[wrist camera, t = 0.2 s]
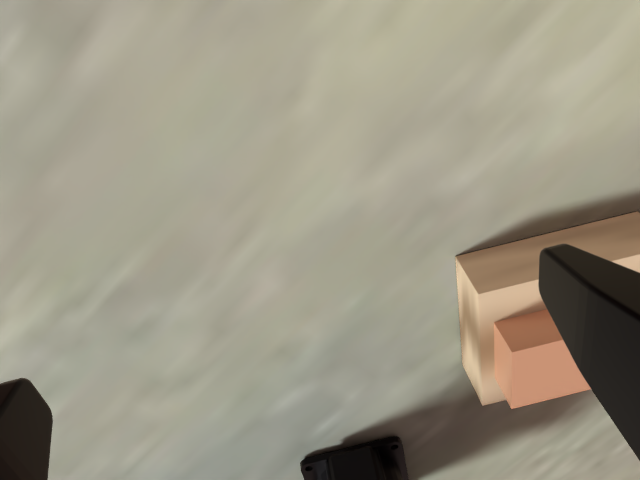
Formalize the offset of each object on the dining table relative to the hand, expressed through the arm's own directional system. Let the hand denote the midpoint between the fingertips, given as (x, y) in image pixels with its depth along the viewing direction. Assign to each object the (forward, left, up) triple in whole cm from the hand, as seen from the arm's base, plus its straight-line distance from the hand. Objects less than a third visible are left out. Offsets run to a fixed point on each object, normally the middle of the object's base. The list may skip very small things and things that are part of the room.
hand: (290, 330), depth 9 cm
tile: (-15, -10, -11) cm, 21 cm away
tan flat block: (-15, -12, -14) cm, 24 cm away
